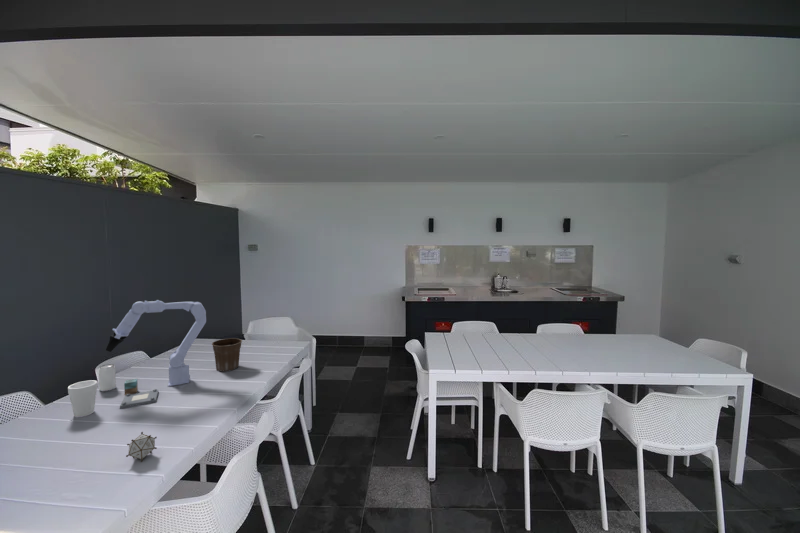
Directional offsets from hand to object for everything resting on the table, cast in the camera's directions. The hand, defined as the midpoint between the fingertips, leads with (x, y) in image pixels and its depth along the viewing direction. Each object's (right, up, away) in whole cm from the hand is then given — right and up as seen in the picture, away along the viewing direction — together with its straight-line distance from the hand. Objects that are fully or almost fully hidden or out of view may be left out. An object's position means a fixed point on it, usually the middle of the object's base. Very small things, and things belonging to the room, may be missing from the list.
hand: (109, 349), depth 164 cm
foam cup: (+4, -24, -18) cm, 30 cm away
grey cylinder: (-8, -23, +8) cm, 25 cm away
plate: (+18, -23, -4) cm, 30 cm away
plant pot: (+38, -21, +39) cm, 58 cm away
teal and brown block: (+7, -23, +4) cm, 24 cm away
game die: (+52, -26, -48) cm, 76 cm away
